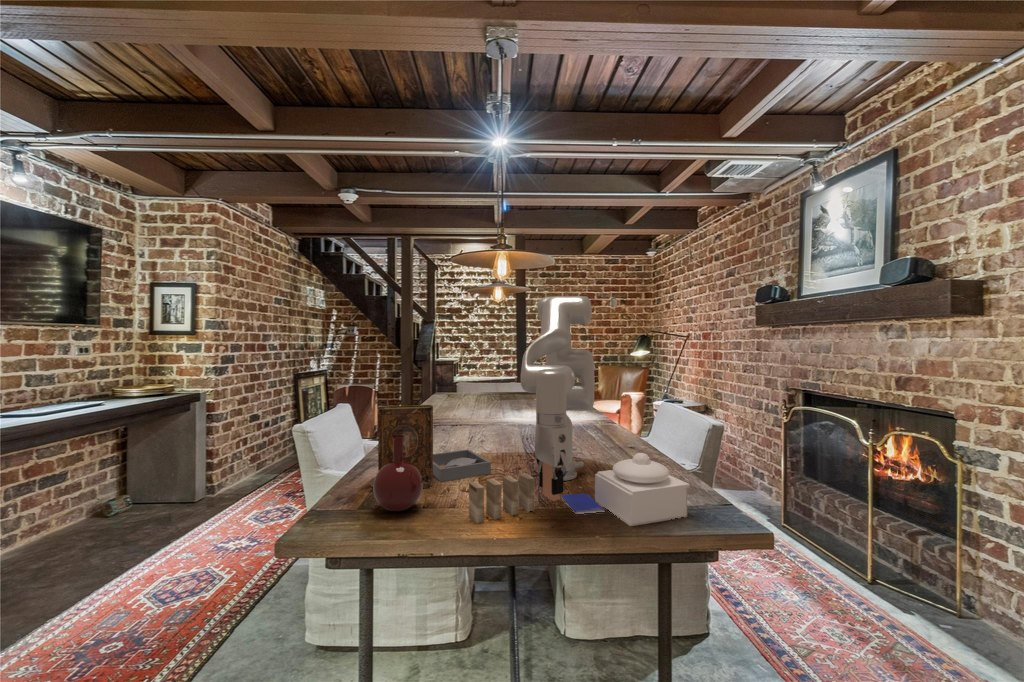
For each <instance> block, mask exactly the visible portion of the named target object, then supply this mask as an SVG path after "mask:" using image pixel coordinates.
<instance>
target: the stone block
mask: <svg viewBox="0 0 1024 682" xmlns="http://www.w3.org/2000/svg"><path fill="white" fill-rule="evenodd" d="M475 463H477V459H470V458H459V459H454V460H451V461H450V462H449V463H448V464H445V466H444V467H443V468H448V467H455V466H461V465H468V464H475Z"/></svg>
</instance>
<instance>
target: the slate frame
mask: <svg viewBox="0 0 1024 682" xmlns="http://www.w3.org/2000/svg"><path fill="white" fill-rule="evenodd" d="M459 458H470V459H477V463H475V464H468V465H461V466H455V467H448V468H444V467H442V466H441V465H443V466H444V465H447V464H448V463H449V462H450V461H451V460H454V459H459ZM485 474H486V475H491V474H492V462H491V461H490V460H489V459H486V458H485V457H483V456H481V455H479V454H478V453H476V452H475V451H472V450H471V449H461V450H455V451H445V452H440V453H439V452H438V453H433V478H435V479H436V480H437V481H439V482H441V483H442V481H443V482H447V481H448V482H449V481H453V480H454V481H455V480H460V478H461V479H466V478H465V477H468V478H472V477H471V476H474V477H478V476H477V475H480V476H484V475H485Z"/></svg>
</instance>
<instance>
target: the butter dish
mask: <svg viewBox="0 0 1024 682" xmlns="http://www.w3.org/2000/svg"><path fill="white" fill-rule="evenodd" d="M690 487H691V485H690V483H688V482H685V481H683V480H681V479H679V478H677V477H674V476H672V475H670V470H669V469H668V468H667V467H666V466H665V465H663V464H662V463H659V462H657V461H654V460H651V458H650V457H649V455H648V454H647V453H643V452H638V453H636V454H635V455H633V457H632V458H628V459H627V458H626V459H623V460H619V461H617V462H616V463H614V465H613V466H612V470H611V469H610V470H602V471H601V470H600V471H597V472H596V473H595V474H594V500H595V501H596V502H598V503H599V504H601V505H602V506H604V507H605V508H606V509H608V510H609V511H610V512H612V513H613V514H614V515H613V514H612V513H611V514H612V515H613V516H615V515H616V516H617V517H616V516H615V517H616V518H618V519H619V518H620V519H619V520H621V521H622V522H624V524H626V525H628V527H634V526H635V527H636V526H640V525H641V526H642V525H647V524H653V523H658V522H665V521H672V520H676V519H675V518H678V519H682V518H681V517H684V518H687V517H688V488H690ZM602 506H601V507H602ZM605 508H604V509H605ZM606 509H605V510H606ZM609 511H608V512H609ZM610 512H609V513H610ZM671 519H672V520H671Z"/></svg>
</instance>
